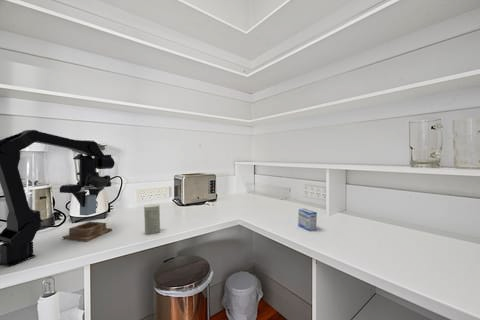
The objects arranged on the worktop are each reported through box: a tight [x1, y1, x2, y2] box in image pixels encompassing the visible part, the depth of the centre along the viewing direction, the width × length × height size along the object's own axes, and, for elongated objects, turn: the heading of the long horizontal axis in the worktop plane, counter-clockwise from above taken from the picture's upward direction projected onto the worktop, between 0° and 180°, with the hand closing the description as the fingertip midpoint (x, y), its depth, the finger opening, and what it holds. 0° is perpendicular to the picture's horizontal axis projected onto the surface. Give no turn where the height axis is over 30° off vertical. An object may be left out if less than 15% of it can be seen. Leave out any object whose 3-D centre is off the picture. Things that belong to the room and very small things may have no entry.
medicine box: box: [297, 207, 318, 232], centre depth 95 cm, size 8×4×9 cm, turn 27°
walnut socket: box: [62, 221, 113, 243], centre depth 85 cm, size 12×12×4 cm
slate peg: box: [79, 194, 97, 217], centre depth 85 cm, size 4×4×8 cm
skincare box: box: [143, 203, 161, 235], centre depth 89 cm, size 6×4×12 cm
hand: (88, 205), depth 85 cm, fingers closed on slate peg, 4 cm apart
